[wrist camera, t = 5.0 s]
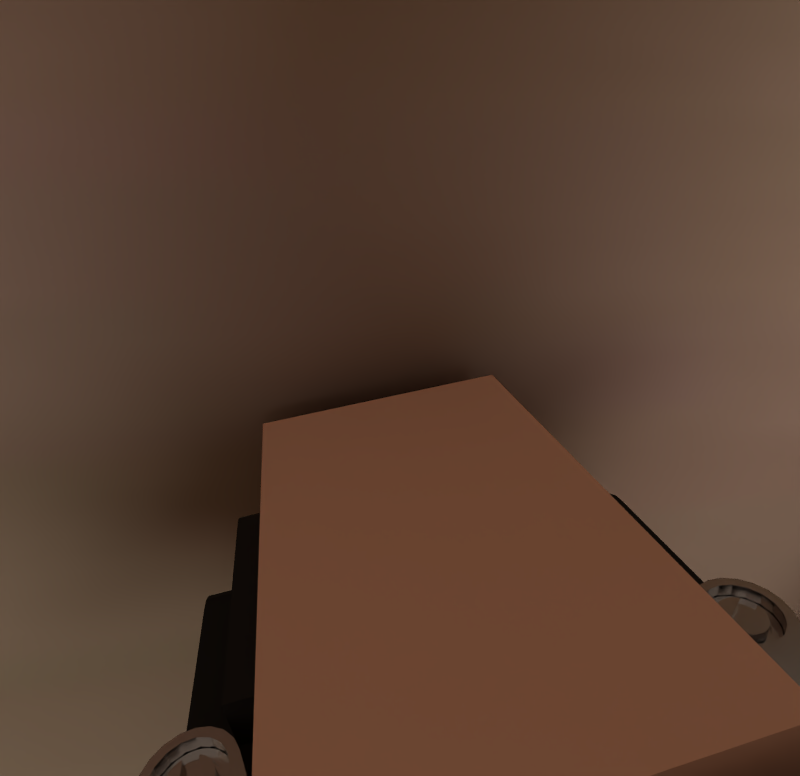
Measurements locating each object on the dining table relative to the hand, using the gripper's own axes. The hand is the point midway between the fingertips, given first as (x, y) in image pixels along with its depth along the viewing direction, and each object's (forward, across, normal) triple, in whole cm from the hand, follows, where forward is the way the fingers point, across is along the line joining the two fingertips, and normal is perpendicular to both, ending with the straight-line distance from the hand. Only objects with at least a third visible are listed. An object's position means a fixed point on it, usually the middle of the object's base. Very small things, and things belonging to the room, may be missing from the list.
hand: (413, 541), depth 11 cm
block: (+2, 0, 0) cm, 2 cm away
